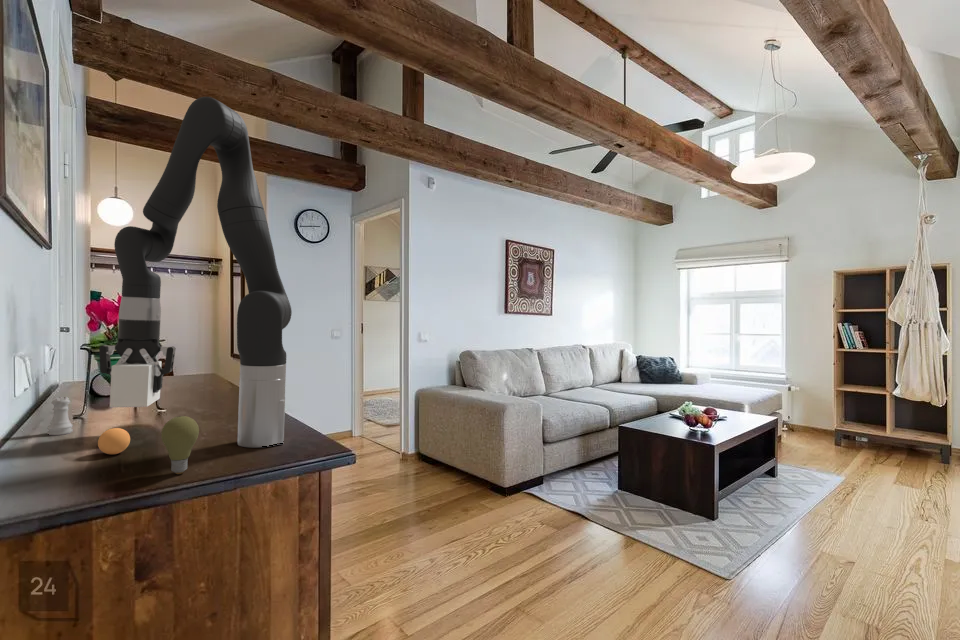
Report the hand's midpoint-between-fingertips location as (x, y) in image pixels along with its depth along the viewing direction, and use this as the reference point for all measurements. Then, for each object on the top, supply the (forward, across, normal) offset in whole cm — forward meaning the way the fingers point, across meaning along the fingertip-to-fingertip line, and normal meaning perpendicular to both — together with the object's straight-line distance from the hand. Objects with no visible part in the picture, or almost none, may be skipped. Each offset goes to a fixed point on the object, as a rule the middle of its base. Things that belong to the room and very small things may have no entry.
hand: (136, 392), depth 106 cm
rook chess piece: (+10, +16, -7) cm, 20 cm away
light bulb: (+10, -14, +30) cm, 35 cm away
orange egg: (+7, 0, +14) cm, 16 cm away
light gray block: (+2, 0, 0) cm, 2 cm away
